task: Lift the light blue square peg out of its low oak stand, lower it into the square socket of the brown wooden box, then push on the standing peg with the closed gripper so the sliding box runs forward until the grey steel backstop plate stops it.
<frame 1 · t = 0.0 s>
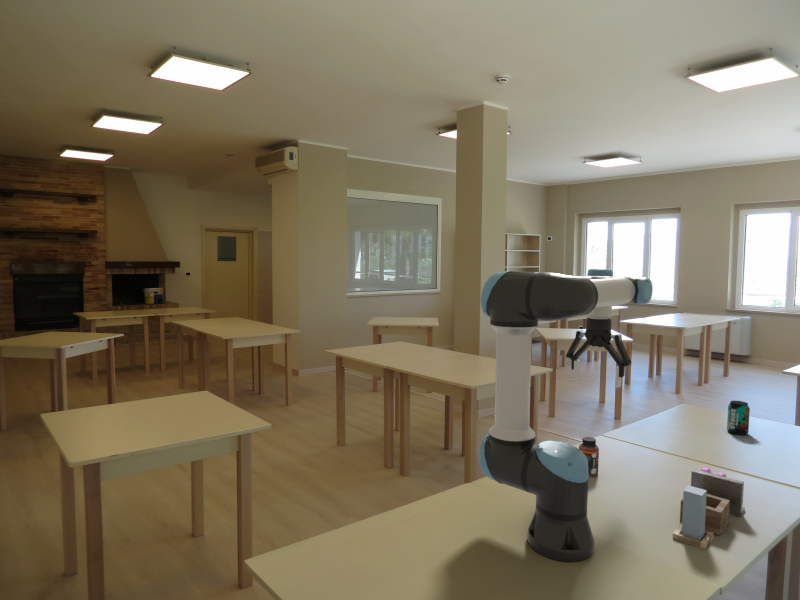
hand: (596, 383, 166), 28 cm above the table, fingers open, 13 cm apart
stand: (692, 537, 127), on the table
brown wooden box: (704, 511, 134), point 3 cm above the table, slide at 0.0 cm
light blue square peg: (692, 538, 127), resting in stand
beverage can: (737, 433, 203), on the table
backstop: (715, 508, 142), on the table
supplement bottle: (588, 474, 165), on the table
bracket: (720, 490, 153), on the table
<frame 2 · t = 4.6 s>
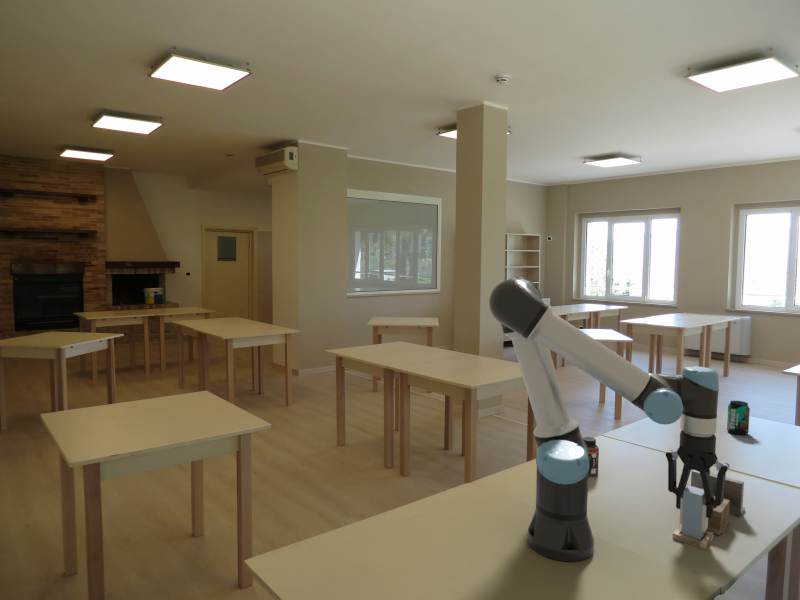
hand: (693, 525, 127), 3 cm above the table, fingers closed on light blue square peg, 4 cm apart
light blue square peg: (692, 537, 127), resting in stand, touching gripper
everything else where it was.
when the fingers open (7 cm above the table, at t = 8.5 s): light blue square peg drops 2 cm, resting on brown wooden box.
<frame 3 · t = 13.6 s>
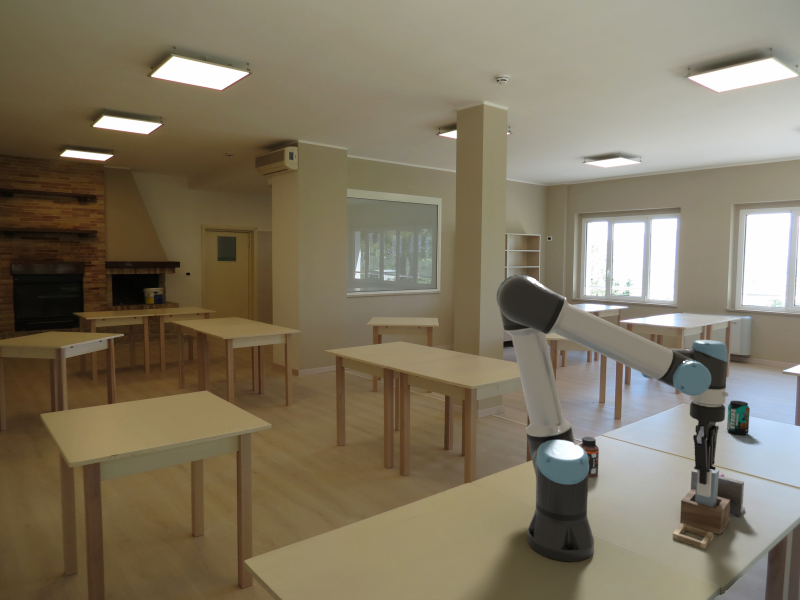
hand: (703, 494, 131), 9 cm above the table, fingers closed
brown wooden box: (705, 510, 134), point 3 cm above the table, slide at 0.3 cm, touching light blue square peg
light blue square peg: (704, 516, 134), point 2 cm above the table, tilted 6°, touching brown wooden box
everything else where it was.
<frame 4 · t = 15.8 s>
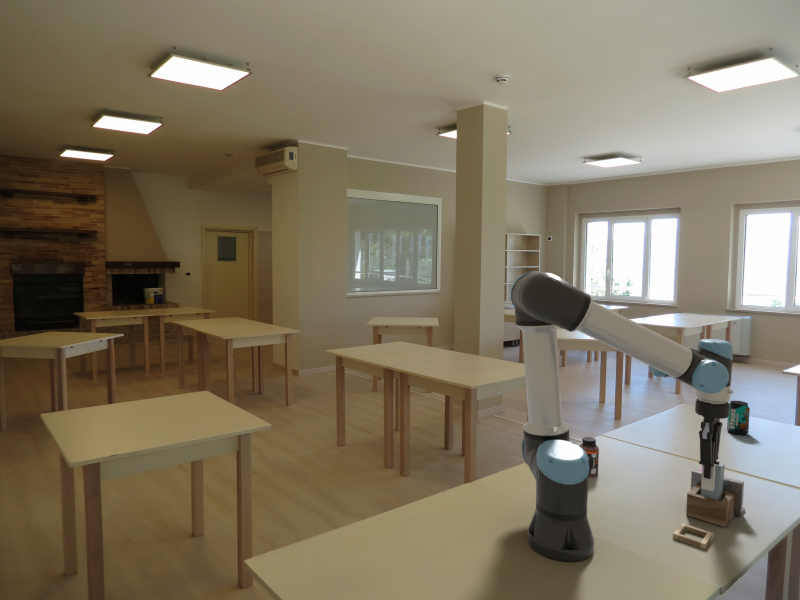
hand: (707, 488, 135), 8 cm above the table, fingers closed
brown wooden box: (710, 504, 138), point 3 cm above the table, slide at 5.4 cm, touching light blue square peg
light blue square peg: (710, 508, 138), point 2 cm above the table, tilted 10°, touching brown wooden box, gripper
everything else where it was.
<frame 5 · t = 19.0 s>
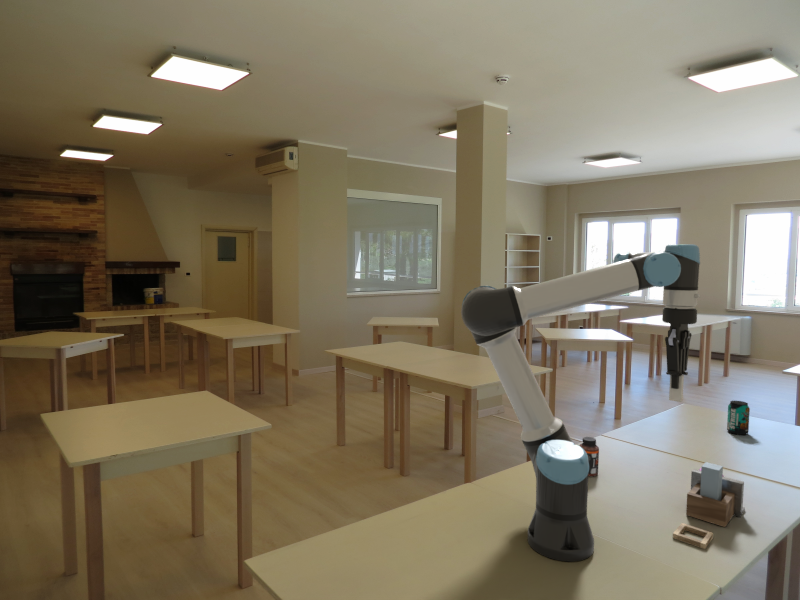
hand: (675, 400, 131), 32 cm above the table, fingers closed
light blue square peg: (710, 510, 138), point 1 cm above the table, touching brown wooden box
everything else where it was.
at the end: light blue square peg 0.1 cm off-centre on the brown wooden box, point 1.5 cm above the brown wooden box's base; brown wooden box slide at 5.4 cm; light blue square peg tilted 0° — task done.
